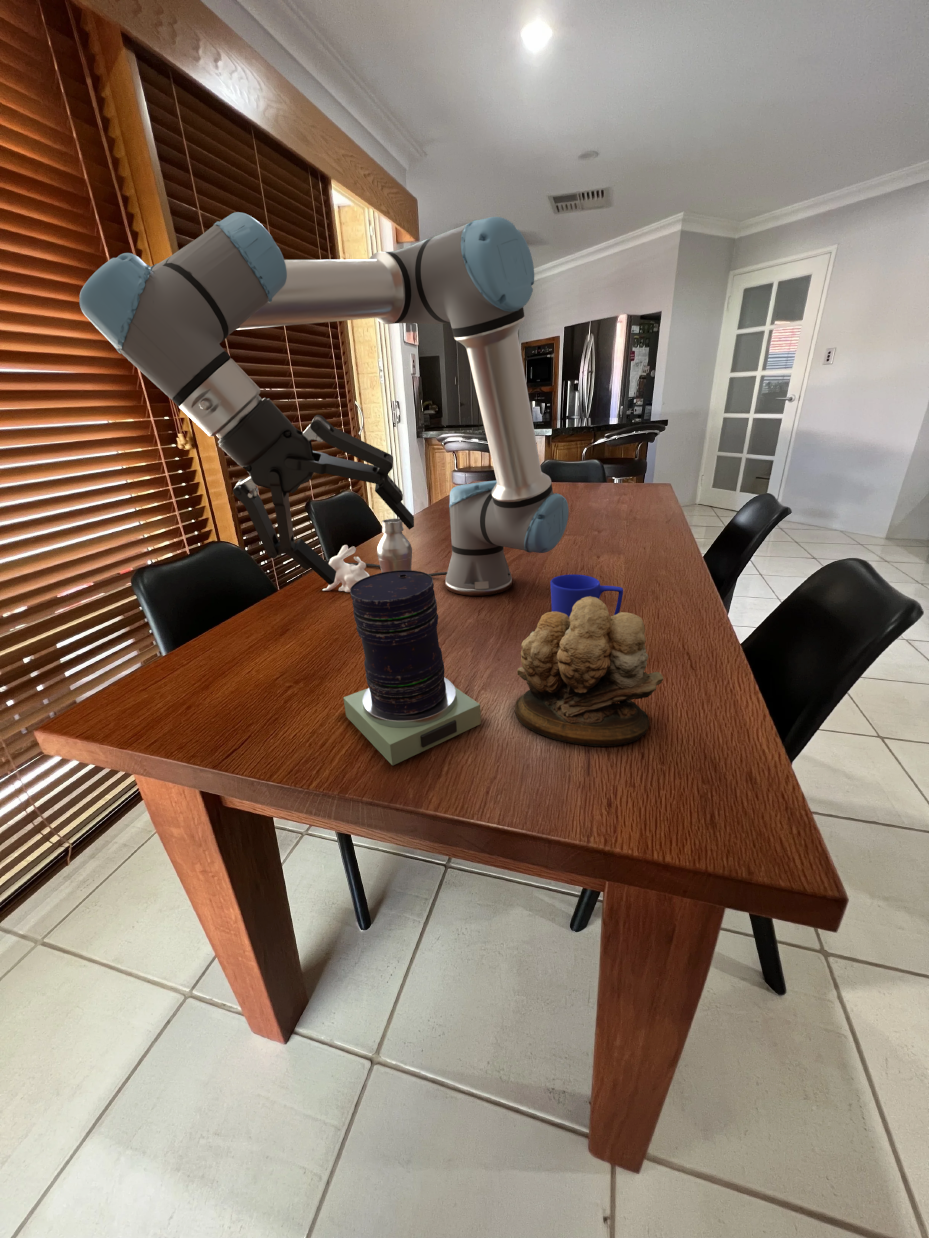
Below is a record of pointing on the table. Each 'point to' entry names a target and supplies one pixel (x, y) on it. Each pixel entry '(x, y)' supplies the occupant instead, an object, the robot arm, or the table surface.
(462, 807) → the table surface
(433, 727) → the scale
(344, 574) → the rabbit figurine
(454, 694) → the weighing pan
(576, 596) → the mug
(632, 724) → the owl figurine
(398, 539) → the metal bottle
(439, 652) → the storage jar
